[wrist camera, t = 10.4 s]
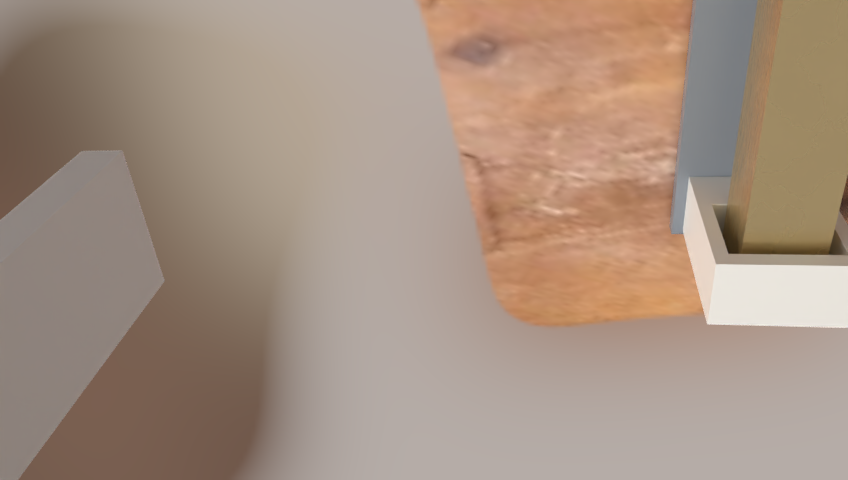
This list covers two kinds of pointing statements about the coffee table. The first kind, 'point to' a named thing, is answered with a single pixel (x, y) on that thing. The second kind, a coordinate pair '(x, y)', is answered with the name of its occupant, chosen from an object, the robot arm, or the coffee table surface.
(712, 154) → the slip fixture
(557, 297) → the coffee table surface
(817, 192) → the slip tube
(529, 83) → the coffee table surface
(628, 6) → the coffee table surface
